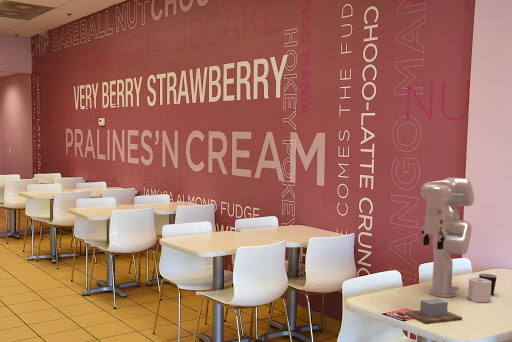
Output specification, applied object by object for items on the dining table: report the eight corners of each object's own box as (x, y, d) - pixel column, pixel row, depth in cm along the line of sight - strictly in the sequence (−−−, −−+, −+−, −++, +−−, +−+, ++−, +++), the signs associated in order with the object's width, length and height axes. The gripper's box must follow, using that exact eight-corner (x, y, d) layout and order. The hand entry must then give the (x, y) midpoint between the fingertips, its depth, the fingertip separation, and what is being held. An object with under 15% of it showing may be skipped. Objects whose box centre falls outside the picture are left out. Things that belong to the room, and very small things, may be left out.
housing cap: (437, 311, 241) (438, 298, 241) (447, 315, 235) (447, 302, 235) (420, 313, 237) (420, 300, 237) (429, 317, 232) (429, 304, 231)
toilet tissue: (487, 297, 272) (488, 278, 272) (493, 304, 260) (494, 284, 260) (466, 295, 274) (467, 276, 274) (470, 302, 263) (471, 282, 262)
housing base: (440, 310, 247) (440, 301, 246) (462, 319, 234) (462, 310, 233) (405, 314, 239) (405, 305, 239) (425, 324, 226) (426, 314, 226)
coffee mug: (496, 297, 274) (497, 278, 274) (478, 295, 277) (479, 276, 276) (494, 291, 285) (495, 273, 285) (477, 289, 288) (478, 271, 287)
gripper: (453, 214, 246) (452, 250, 248) (428, 209, 262) (427, 242, 264) (441, 215, 244) (439, 251, 245) (416, 209, 260) (415, 244, 261)
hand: (433, 247), depth 254 cm, fingers open, 9 cm apart
